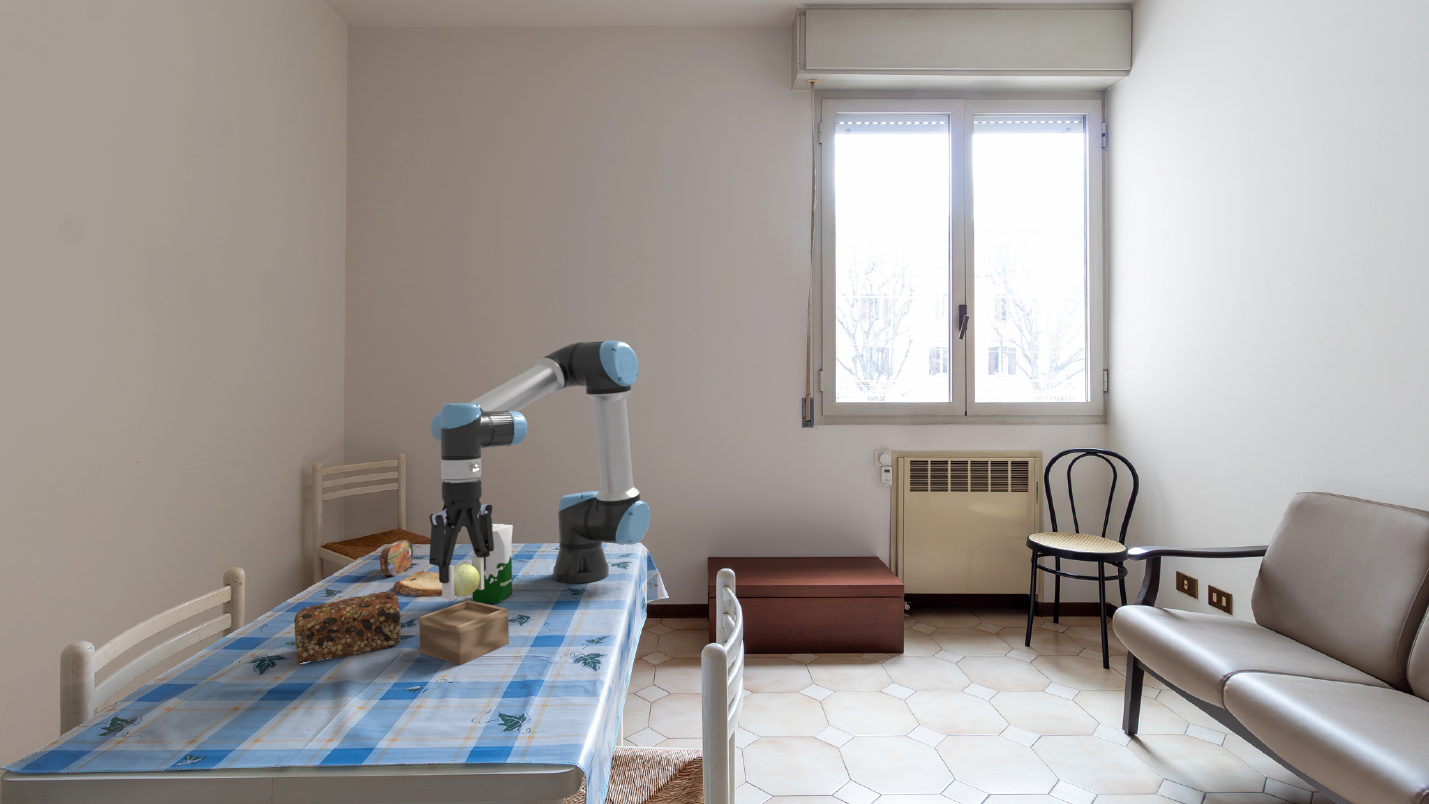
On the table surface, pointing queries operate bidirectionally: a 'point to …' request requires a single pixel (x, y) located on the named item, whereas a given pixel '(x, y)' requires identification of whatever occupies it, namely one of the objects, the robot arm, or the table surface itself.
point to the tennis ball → (465, 579)
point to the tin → (396, 558)
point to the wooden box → (463, 631)
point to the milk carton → (497, 568)
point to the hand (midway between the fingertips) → (463, 593)
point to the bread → (347, 627)
